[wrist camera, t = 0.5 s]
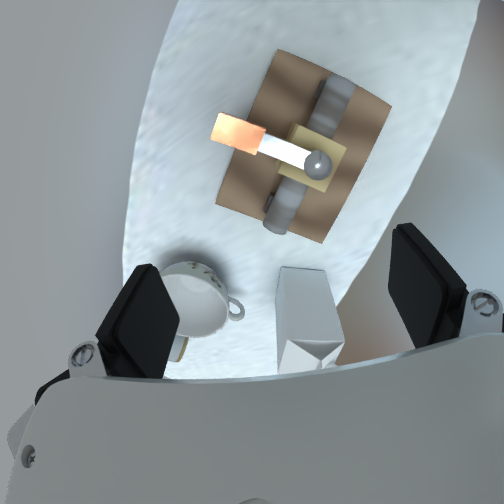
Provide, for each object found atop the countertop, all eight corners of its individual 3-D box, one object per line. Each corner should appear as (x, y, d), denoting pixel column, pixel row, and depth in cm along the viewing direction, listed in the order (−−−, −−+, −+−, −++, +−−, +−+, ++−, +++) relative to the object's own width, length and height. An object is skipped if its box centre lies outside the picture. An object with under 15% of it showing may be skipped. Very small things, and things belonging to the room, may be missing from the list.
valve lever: (332, 155, 25) (338, 160, 23) (321, 179, 27) (325, 185, 25) (223, 111, 23) (219, 111, 22) (213, 137, 25) (209, 140, 23)
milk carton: (274, 300, 46) (278, 399, 30) (281, 266, 42) (289, 367, 26) (315, 303, 46) (332, 398, 30) (324, 269, 43) (352, 367, 26)
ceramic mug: (183, 343, 53) (175, 372, 47) (146, 328, 52) (135, 356, 45) (199, 311, 48) (191, 342, 42) (158, 294, 47) (144, 323, 40)
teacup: (155, 292, 46) (140, 323, 40) (166, 233, 40) (148, 261, 33) (234, 318, 49) (230, 352, 42) (259, 264, 42) (258, 297, 36)
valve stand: (277, 51, 27) (281, 34, 19) (387, 106, 29) (418, 109, 22) (216, 199, 37) (205, 225, 30) (319, 238, 40) (331, 271, 32)
